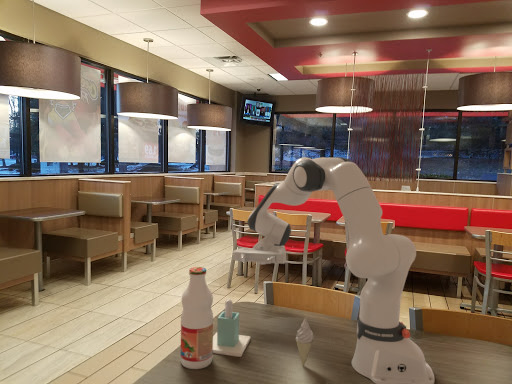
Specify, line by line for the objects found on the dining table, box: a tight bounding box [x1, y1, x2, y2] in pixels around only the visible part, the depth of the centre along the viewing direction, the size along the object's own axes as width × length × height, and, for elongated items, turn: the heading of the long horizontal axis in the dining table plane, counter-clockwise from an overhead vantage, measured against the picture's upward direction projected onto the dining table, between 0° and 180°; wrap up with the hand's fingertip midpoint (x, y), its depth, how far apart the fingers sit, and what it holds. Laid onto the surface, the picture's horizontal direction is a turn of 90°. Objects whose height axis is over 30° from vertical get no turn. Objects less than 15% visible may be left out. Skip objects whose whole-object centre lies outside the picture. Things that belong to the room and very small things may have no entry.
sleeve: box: [216, 310, 240, 347], centre depth 122 cm, size 6×6×9 cm
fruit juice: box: [180, 266, 214, 370], centre depth 111 cm, size 9×9×28 cm
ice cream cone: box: [295, 316, 314, 367], centre depth 110 cm, size 5×5×15 cm
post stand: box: [213, 299, 251, 358], centre depth 121 cm, size 12×12×15 cm
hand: (255, 260), depth 135 cm, fingers open, 8 cm apart
